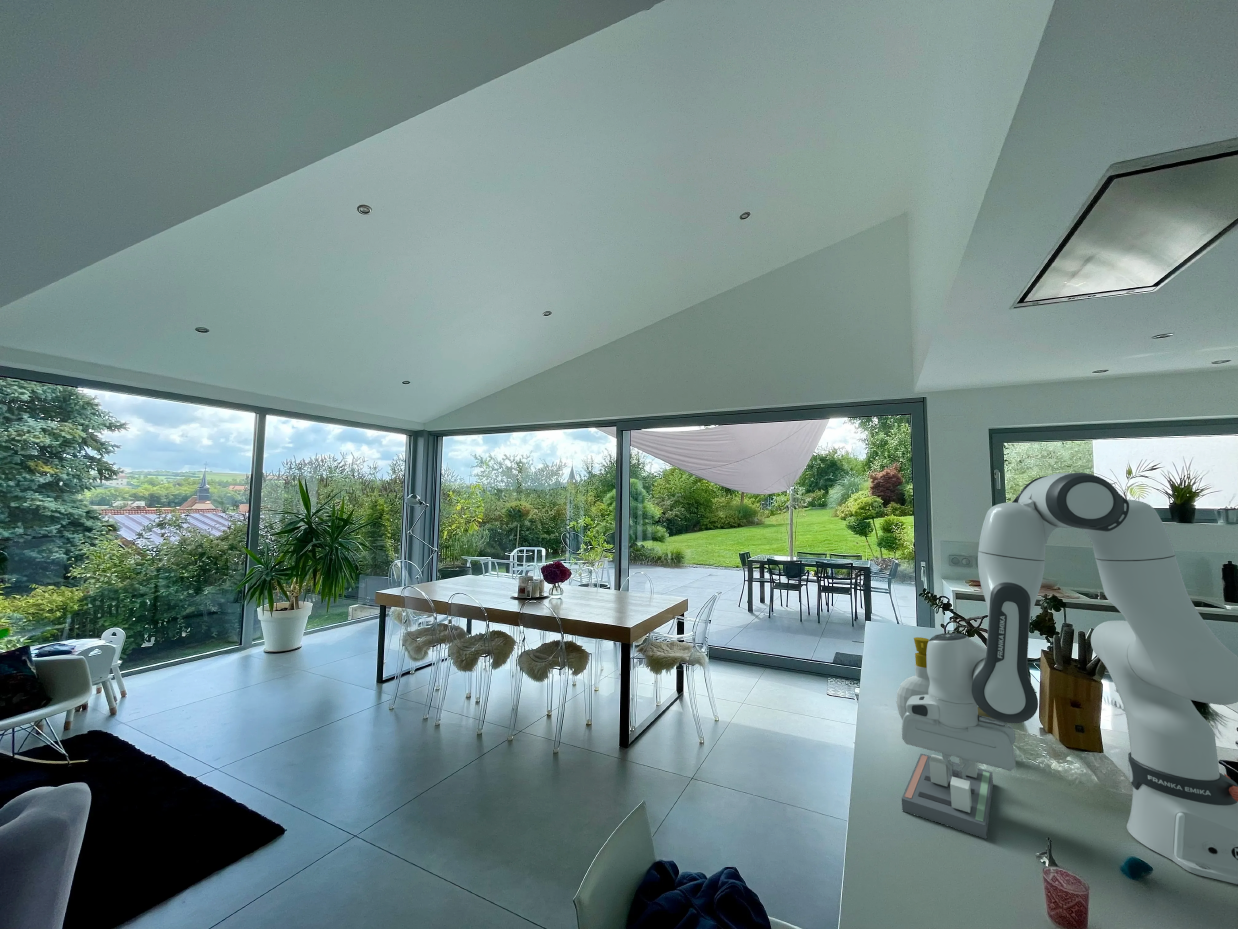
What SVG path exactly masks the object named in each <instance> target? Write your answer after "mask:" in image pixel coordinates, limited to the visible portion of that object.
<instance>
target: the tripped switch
mask: <svg viewBox="0 0 1238 929" xmlns="http://www.w3.org/2000/svg"><path fill="white" fill-rule="evenodd" d="M930 756H931V758H930V776H931V782H933V783H936V784H940V785H943V786H946V787H947V786H948V782H949V768H948V766H947V764H946V763H945V761H944V760H943V758H942V756H939V755H936V754H931V755H930Z"/></svg>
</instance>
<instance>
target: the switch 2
mask: <svg viewBox="0 0 1238 929" xmlns="http://www.w3.org/2000/svg"><path fill="white" fill-rule="evenodd" d="M950 790H951V803H952V807H953V808H956V809H959V810H962V811H966V812H969V813H970V811H971V805H972V802H971V789H970V781H967V780H963V779H960V778H956V777H953V776H952V779H951V783H950Z"/></svg>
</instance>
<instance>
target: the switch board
mask: <svg viewBox="0 0 1238 929" xmlns="http://www.w3.org/2000/svg"><path fill="white" fill-rule="evenodd" d="M931 756H932V755H929V754H925V753H920V755H919V756H918V758H917V761H916V763H915V765H914V769H913V770H912V773H911V776H910V778H909V780H908V783H907V785H906V788H905V789H904V792H903V794H902V797H901V811H902V810H903V811H905V812H904V813H906V812H909V813H911V814H910V815H912V814H915V815H918V816H921V817H923V818H922V819H924V818H927V819H930V820H932V821H931V822H933V821H935V822H934V823H936V822H939V823H941V824H940V825H942V824H945V825H948V826H952V827H954V828H956V829H955V830H957V829H959V830H958V831H960V830H962V831H961V832H963V831H964V833H967V834H969V833H970V835H972V834H973V835H972V836H975V835H976V837H978V836H979V838H982V839H984V840H987V838H988V828H989V821H990V812H991V804H992V796H993V788H994V777H993V771H990V770H986V769H982V768H978V773H977V778H975V777H971V776H967V775H966V780H967V781H970V789H971V802H972V805H971V811H970V813H969V812H966V811H962V810H959V809H956V808H953V807H952V803H951V790H950V783H951V779H952V776H950V773H949V782H948V786H947V787H946V786H943V785H940V784H936V783H933V782H931V776H930V758H931ZM951 762H952V763H953V765H954V766H957V767H960V764H959V762H955V761H952V760H951ZM956 778H957V777H956ZM903 811H902V812H903ZM909 813H908V814H909ZM915 815H914V816H915ZM918 816H917V817H918ZM921 817H920V818H921ZM927 819H926V820H927ZM930 820H929V821H930ZM939 823H938V824H939ZM945 825H944V826H945ZM948 826H947V827H948ZM954 828H953V829H954Z"/></svg>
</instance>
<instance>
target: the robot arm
mask: <svg viewBox="0 0 1238 929" xmlns="http://www.w3.org/2000/svg"><path fill="white" fill-rule="evenodd" d="M1058 528H1062V529H1063V528H1065V529H1070V528H1071V529H1073V528H1076V529H1081V530H1082V531H1083V532H1084V533H1085V534H1086V535H1087V537H1088V538H1089V541H1090V542H1091V545H1092V551H1093V555H1094V559H1095V563H1096V567H1097V569H1098V570H1097V571H1098V573H1099V578H1100V581H1101V582H1100V583H1101V585H1102V589H1103V593H1104V595H1105V597H1106V599H1107V600H1108V602H1110V603H1111V604H1112V605H1113V607H1115V608H1116V609H1117V610H1118V611H1119V612H1120V613H1121V615H1122V616H1123V617H1124V619H1125V620H1108V621H1107V620H1106V621H1104V622H1101V623H1100V624H1098V625H1097V626H1096V627H1095V628H1094V629H1093V631H1092V633H1091V634H1090V635H1091V636H1090V644H1091V649H1092V650H1093V653H1094V654H1095V655H1096V657H1098V659H1100V661H1101V662H1102V663H1103V665H1104V666H1105V668H1106V669H1107V671H1108V673H1109V675H1110V677H1111V679H1112V681H1113V683H1114V686H1115V688H1116V691H1117V693H1118V696H1119V699H1120V700H1121V703H1122V706H1123V710H1124V713H1125V717H1126V723H1127V731H1128V738H1129V740H1128V741H1129V747H1130V748H1129V749H1130V752H1128V754H1127V755H1128V757H1127V758H1128V759H1127V768H1128V775H1129V776H1128V777H1129V782H1130V784H1131V786H1132V801H1131V808H1130V814H1129V816H1128V821H1127V823H1126V830H1127V831H1128V833H1129V834H1130V835H1131V836H1132V838H1134V839H1135V840H1136V841H1137V842H1139V843H1141V844H1142V845H1143V846H1145V847H1147V848H1149V849H1151V850H1152V851H1154V852H1156V853H1158V854H1160V855H1162V856H1163V857H1165V858H1167V859H1170V860H1171V861H1173V863H1175V864H1177V865H1178V866H1179V867H1181V868H1183V869H1184V870H1186V871H1187V872H1190V873H1192V874H1195V875H1197V876H1202V877H1205V878H1210V879H1215V880H1218V881H1221V882H1226V883H1231V884H1234V885H1238V783H1237V782H1235V781H1234V780H1233V779H1231V777H1230V776H1228V775H1227V774H1226V773H1224V774H1223V773H1221V772H1220V767H1219V758H1218V750H1217V742H1216V733H1215V731H1214V730H1213V728H1212V726H1211V725H1210V723H1209V722H1208V721H1207V720H1206V719H1205V718H1204V716H1202V714H1201V713H1200V712H1199V711H1198V710H1197V708H1196V706H1195V705H1194V703H1193V702H1192V701H1196V702H1200V703H1205V704H1212V705H1218V706H1228V705H1233V704H1237V703H1238V655H1237V654H1235V653H1234V652H1233V651H1231V650H1230V649H1229V648H1228V647H1227V646H1225V645H1224V643H1222V642H1221V640H1220V639H1219V638H1218V637H1217V636H1216V634H1214V632H1213V631H1212V630H1211V628H1210V627H1209V626H1208V625H1207V623H1206V622H1205V620H1204V619H1203V617H1202V616H1201V614H1200V613H1199V611H1198V610H1197V609H1196V607H1195V605H1194V603H1193V602H1192V599H1191V597H1190V595H1189V593H1188V590H1187V587H1186V584H1185V582H1184V578H1183V574H1182V572H1181V568H1180V566H1179V565H1180V564H1179V562H1178V559H1177V555H1176V552H1175V549H1174V546H1173V543H1172V540H1171V538H1170V536H1169V533H1168V530H1167V528H1166V526H1165V524H1164V522H1163V521H1162V519H1161V517H1160V515H1159V514H1158V512H1157V510H1155V507H1153V506H1151V505H1150V504H1149V503H1146V502H1144V501H1140V500H1135V499H1128V498H1127V499H1126V498H1125V497H1124V496H1123V495H1122V494H1121V493H1120V492H1119V491H1118V490H1117V489H1116V487H1115V486H1113V484H1111V483H1110V482H1109V481H1108V480H1106V479H1105V478H1102V477H1101V476H1098V475H1095V474H1091V473H1086V472H1058V473H1054V474H1050V475H1045V476H1040V477H1037V478H1034V479H1032V480H1031V481H1030V482H1028V483H1026V485H1024V487H1023V488H1022V489H1021V491H1020V492H1019V493H1018V495H1017V496H1016V497H1015V498H1014V499H1013V500H1012V501H1011V502H1003V503H998V504H995V505H993V506H991V507H990V508H989V509H988V510H987V511H986V514H985V517H984V520H983V524H982V527H981V531H980V537H979V541H978V542H979V543H978V552H977V568H978V569H977V571H978V576H979V583H980V586H981V590H982V593H983V597H984V600H985V604H986V608H987V617H988V618H987V619H988V622H987V623H988V625H987V637H986V638H987V639H986V647H985V646H983V645H981V644H979V643H977V642H975V641H974V640H972V639H971V638H970V637H969V636H968V635H965V634H962V633H957V632H945V633H939V634H935V635H933V636H932V637H930V639H929V641H928V644H927V653H926V654H927V656H926V659H927V674H928V676H929V680H930V686H929V690H928V693H929V695H917V696H912V697H911V698H909V700H908V701H907V703H906V710H907V712H906V714H905V715H904V718H903V721H902V723H901V739H902V741H903V742H904V743H905V744H906V745H908V746H913V747H916V748H921V749H924V750H927V751H930V752H931V751H932V752H936V753H939V754H942V755H941V757H942V758H943V760H944V761H945V763H946V764H947V766H948V768H949V773H950V776H953V777H957V778H960V779H963V780H966V771H967V769H968V768H969V767H970V765H971V761H974V762H977V764H978V763H979V764H982V765H986V766H989V767H993V768H997V769H1002V770H1005V771H1009V772H1010V771H1013V770H1014V769H1015V768H1016V764H1017V763H1016V755H1015V750H1014V744H1015V743H1016V732H1015V729H1014V727H1013V726H1011V725H1010V724H1020V723H1024V722H1027V721H1030V719H1032V718H1033V717H1034V716H1035V715H1036V713H1037V711H1038V708H1039V701H1038V700H1039V699H1038V696H1037V693H1036V690H1035V688H1034V686H1033V685H1032V682H1031V679H1030V676H1029V672H1028V658H1029V657H1028V655H1029V636H1030V635H1029V634H1030V623H1031V622H1030V621H1031V618H1032V614H1033V611H1034V607H1035V606H1036V605H1035V604H1036V601H1037V598H1038V596H1039V593H1040V589H1041V586H1042V584H1043V583H1042V582H1043V577H1044V575H1045V567H1046V554H1047V553H1046V550H1047V549H1046V548H1047V547H1046V546H1047V545H1046V544H1048V540H1049V537H1050V536H1051V534H1052V533H1053V532H1054V531H1055V530H1057V529H1058ZM978 707H979V708H980V709H981V710H982V711H983V712H984V713H986V714H987V715H988V716H990V717H992V718H994V719H992V718H989V717H984V716H980V715H978ZM951 757H956V758H958V759H959V758H962V763H963V764H964V765H963V767H962V768H961V767H957V766H954V765H953V763H952V762H953V761H952V760H951ZM951 761H952V762H951Z"/></svg>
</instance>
